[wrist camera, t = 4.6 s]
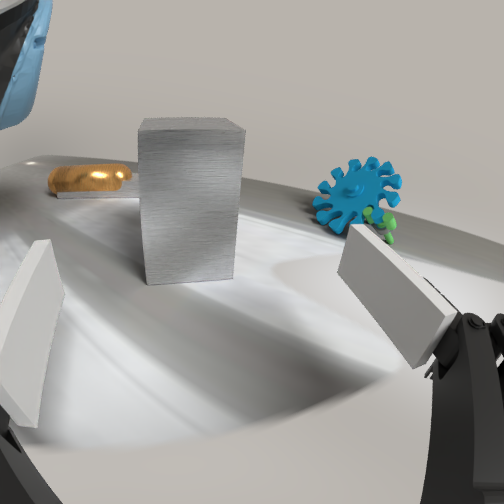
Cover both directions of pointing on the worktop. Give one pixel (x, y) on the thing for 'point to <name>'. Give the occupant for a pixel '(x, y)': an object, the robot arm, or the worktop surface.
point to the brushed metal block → (189, 197)
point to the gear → (360, 197)
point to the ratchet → (94, 181)
